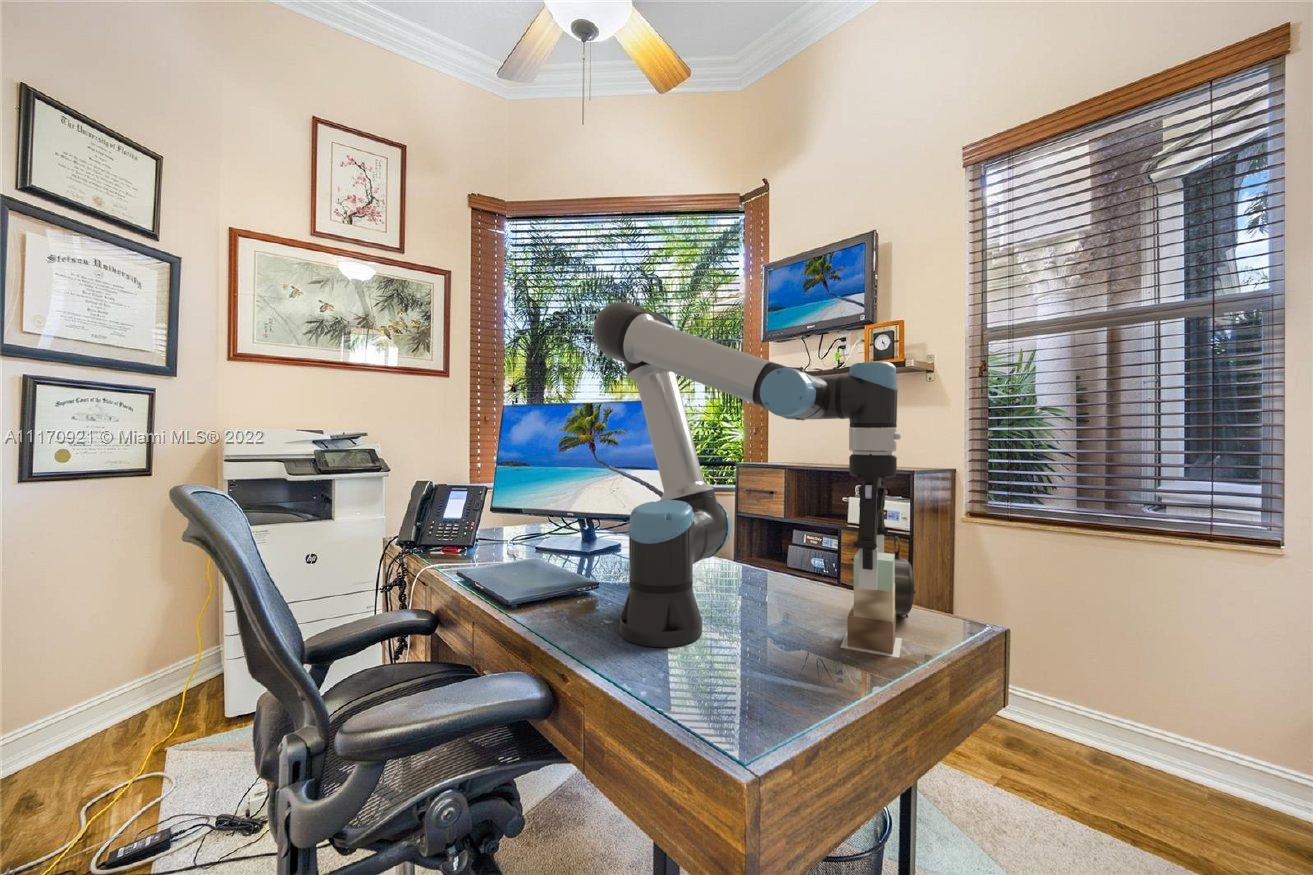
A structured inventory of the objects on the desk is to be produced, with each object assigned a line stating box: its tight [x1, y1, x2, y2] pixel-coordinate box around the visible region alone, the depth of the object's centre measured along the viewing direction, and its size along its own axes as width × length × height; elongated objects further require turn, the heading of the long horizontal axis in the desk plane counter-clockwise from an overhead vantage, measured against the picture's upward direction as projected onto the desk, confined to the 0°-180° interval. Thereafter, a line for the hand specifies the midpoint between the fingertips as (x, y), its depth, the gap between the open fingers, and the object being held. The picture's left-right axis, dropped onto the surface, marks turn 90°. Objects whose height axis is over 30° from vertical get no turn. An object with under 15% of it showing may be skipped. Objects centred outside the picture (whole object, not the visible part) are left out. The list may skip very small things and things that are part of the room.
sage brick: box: [853, 550, 895, 592], centre depth 90 cm, size 6×6×5 cm
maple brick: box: [853, 583, 895, 623], centre depth 90 cm, size 6×6×5 cm
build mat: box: [840, 632, 903, 659], centre depth 91 cm, size 9×9×1 cm
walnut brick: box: [846, 604, 897, 654], centre depth 91 cm, size 7×7×5 cm
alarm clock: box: [893, 536, 916, 624], centre depth 104 cm, size 11×5×16 cm, turn 167°
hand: (872, 579), depth 91 cm, fingers open, 12 cm apart
